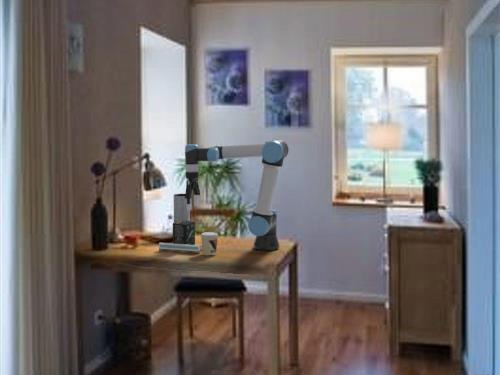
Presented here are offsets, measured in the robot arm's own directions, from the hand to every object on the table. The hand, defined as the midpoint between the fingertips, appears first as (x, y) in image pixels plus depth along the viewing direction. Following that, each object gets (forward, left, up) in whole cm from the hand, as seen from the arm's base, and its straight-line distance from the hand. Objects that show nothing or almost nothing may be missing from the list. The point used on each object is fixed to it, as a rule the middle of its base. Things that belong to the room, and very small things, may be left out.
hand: (192, 207), depth 385 cm
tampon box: (+4, +5, -22) cm, 23 cm away
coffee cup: (-14, +13, -24) cm, 31 cm away
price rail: (+4, +13, -22) cm, 26 cm away
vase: (+17, -26, -24) cm, 39 cm away
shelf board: (+4, +6, -24) cm, 25 cm away
